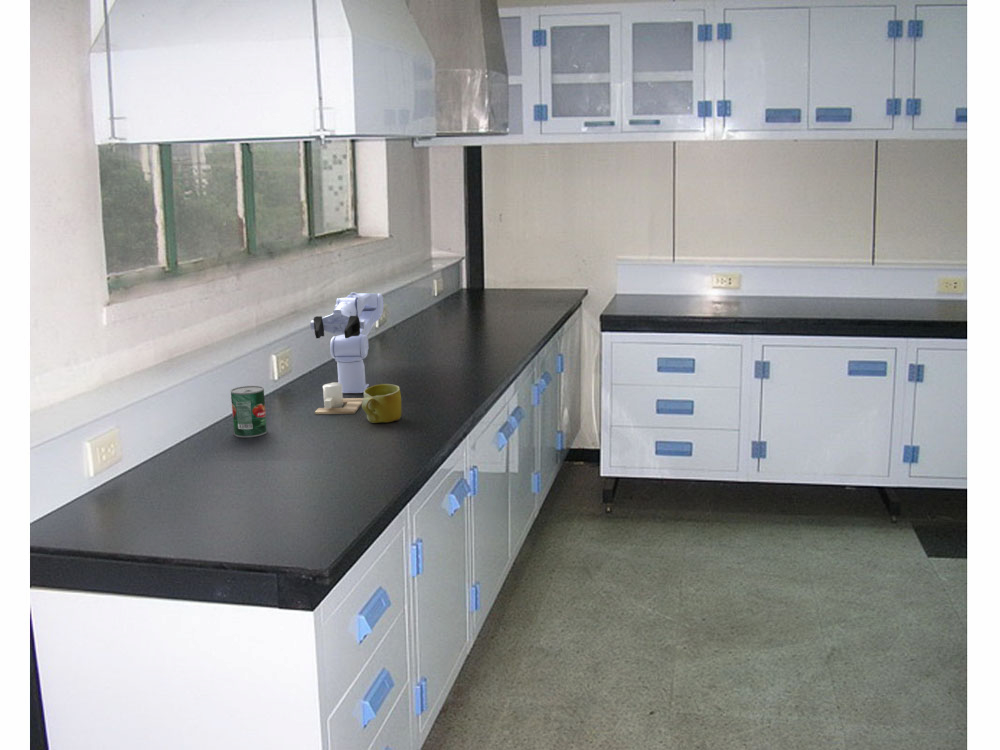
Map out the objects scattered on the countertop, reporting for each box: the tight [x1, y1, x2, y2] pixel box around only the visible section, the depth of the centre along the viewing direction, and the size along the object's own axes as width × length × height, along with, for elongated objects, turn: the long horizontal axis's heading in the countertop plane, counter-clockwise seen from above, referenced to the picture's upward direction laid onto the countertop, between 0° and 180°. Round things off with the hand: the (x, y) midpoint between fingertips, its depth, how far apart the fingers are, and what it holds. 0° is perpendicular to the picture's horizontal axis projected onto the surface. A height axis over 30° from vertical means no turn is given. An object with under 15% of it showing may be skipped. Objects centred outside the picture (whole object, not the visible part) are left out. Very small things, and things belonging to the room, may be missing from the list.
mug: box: [361, 383, 402, 424], centre depth 259 cm, size 12×10×10 cm
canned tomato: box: [230, 385, 268, 438], centre depth 250 cm, size 8×8×11 cm
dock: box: [314, 397, 364, 415], centre depth 275 cm, size 14×10×1 cm
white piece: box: [322, 382, 344, 408], centre depth 273 cm, size 10×5×6 cm, turn 176°
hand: (331, 334), depth 270 cm, fingers open, 7 cm apart
